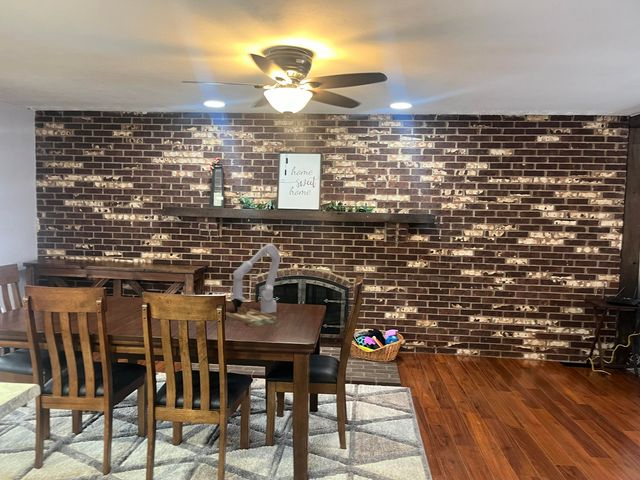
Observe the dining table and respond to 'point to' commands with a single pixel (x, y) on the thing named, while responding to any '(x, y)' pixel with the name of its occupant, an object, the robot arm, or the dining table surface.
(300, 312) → the dining table surface
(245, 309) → the walnut block
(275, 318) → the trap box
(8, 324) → the dining table surface
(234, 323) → the dining table surface
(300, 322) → the dining table surface
